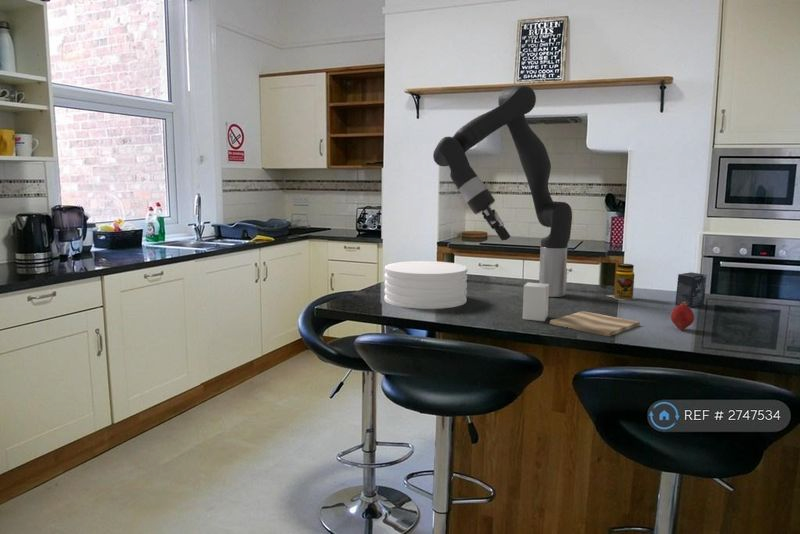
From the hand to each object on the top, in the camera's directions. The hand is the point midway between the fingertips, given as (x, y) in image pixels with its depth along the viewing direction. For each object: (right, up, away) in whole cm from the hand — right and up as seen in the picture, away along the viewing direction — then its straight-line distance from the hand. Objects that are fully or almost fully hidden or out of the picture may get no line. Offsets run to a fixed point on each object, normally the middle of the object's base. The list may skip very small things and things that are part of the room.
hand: (506, 238), depth 177 cm
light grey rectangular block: (+8, -24, -2) cm, 25 cm away
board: (+23, -25, -10) cm, 36 cm away
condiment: (+46, -20, +29) cm, 58 cm away
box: (+64, -22, +17) cm, 69 cm away
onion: (+46, -26, -15) cm, 55 cm away
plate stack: (-24, -20, +22) cm, 38 cm away
